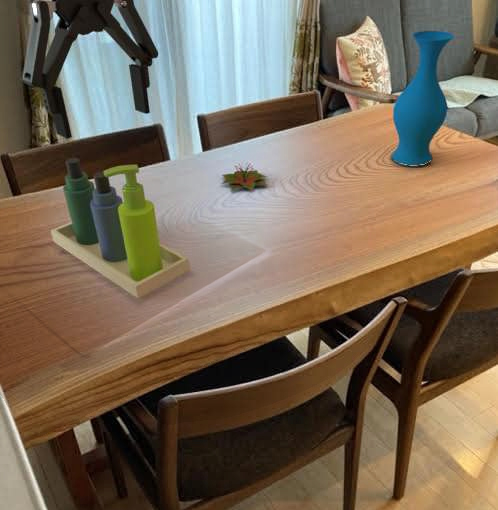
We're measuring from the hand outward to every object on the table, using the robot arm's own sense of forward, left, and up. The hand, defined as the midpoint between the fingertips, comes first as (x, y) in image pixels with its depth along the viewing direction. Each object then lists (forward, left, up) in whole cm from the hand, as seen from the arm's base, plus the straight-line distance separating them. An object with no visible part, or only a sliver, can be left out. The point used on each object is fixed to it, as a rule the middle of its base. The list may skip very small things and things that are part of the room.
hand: (105, 123), depth 79 cm
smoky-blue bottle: (-8, +2, -27) cm, 29 cm away
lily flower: (-13, +41, -28) cm, 51 cm away
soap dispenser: (+1, +2, -27) cm, 27 cm away
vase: (+9, +78, -28) cm, 84 cm away
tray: (-8, +2, -28) cm, 29 cm away
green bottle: (-17, +2, -27) cm, 32 cm away
